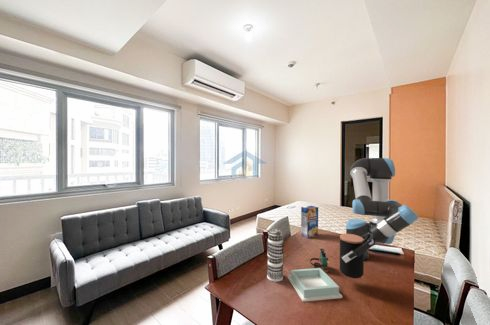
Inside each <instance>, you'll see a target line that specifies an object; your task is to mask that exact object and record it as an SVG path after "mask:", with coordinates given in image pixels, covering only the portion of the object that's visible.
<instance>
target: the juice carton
mask: <svg viewBox="0 0 490 325" xmlns="http://www.w3.org/2000/svg"><path fill="white" fill-rule="evenodd" d="M300 214H301V215H300V236H302V237H303V236H304V237H303V238H306V239H310V238H311V237H312V238H315V237H318V236H319V207H318V206H315V205H305V206H301V211H300Z"/></svg>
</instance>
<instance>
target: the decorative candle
mask: <svg viewBox="0 0 490 325" xmlns="http://www.w3.org/2000/svg"><path fill="white" fill-rule="evenodd" d="M267 235H268V237H267V239H266V250H267V251H266V252H267V254H266V255H267V263H266V264H267V265H266V266H267V267H266V278H267V279H268V280H269V281H271V282H280V281H283V278H284V277H283V276H284V274H283V273H284V271H283V270H284V264H283V263H284V262H283V257H284V251H285V250H284V246H285V244H284V243H285V242H284V239H283V236H284V234H283V232H282V231H281V230H280V229H278V228H272V229H270V230H269V231H268V232H267Z"/></svg>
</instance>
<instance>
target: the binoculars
mask: <svg viewBox="0 0 490 325" xmlns="http://www.w3.org/2000/svg"><path fill="white" fill-rule="evenodd" d="M328 260H329V258H328V257H327V253H326V252H325V249H324V248H320V252H319V257H313V258H311V259H309V264H310V265H312V266H313V267H314V268H321V269H322V270H323V271H324V272H325V273H328V272H329V269H328V266H329V264H328ZM313 261H318V262H313Z"/></svg>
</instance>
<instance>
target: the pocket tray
mask: <svg viewBox="0 0 490 325" xmlns="http://www.w3.org/2000/svg"><path fill="white" fill-rule="evenodd" d="M289 272H290V273H289V275H287V279H288V281H289V282H290V283H291V286H292V287H293V288H294V290H295V292H296V293H297V295H298V296H299V298H300V300H301V301H302V302H305V303H306V302H315V301H324V300H333V299H334V300H335V299H342V298H343V295H342V294H341V293H340V286H339V285H338V284H337V283H336V282H335V281H334V280H333V279H332V278H331V277H330V276H328V274H327V272H324V271H323V270H322V267H321V268H315V267H314V268H302V269H301V268H300V269H291V270H290V271H289Z"/></svg>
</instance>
